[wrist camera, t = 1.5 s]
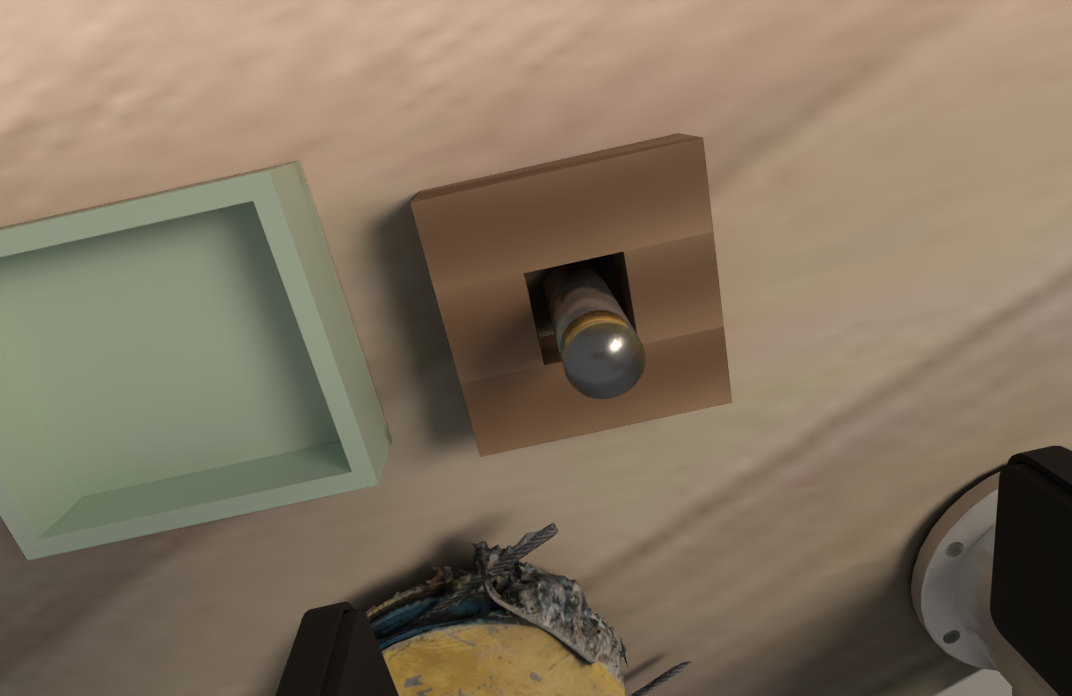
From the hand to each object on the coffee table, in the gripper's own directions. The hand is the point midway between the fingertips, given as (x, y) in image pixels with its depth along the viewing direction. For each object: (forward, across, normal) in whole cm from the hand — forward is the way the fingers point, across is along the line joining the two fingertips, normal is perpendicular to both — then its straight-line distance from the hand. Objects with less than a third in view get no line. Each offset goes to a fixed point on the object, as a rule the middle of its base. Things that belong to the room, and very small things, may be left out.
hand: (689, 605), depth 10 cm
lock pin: (+18, 0, 0) cm, 18 cm away
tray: (+18, +16, 0) cm, 24 cm away
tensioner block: (+18, 0, 0) cm, 18 cm away
